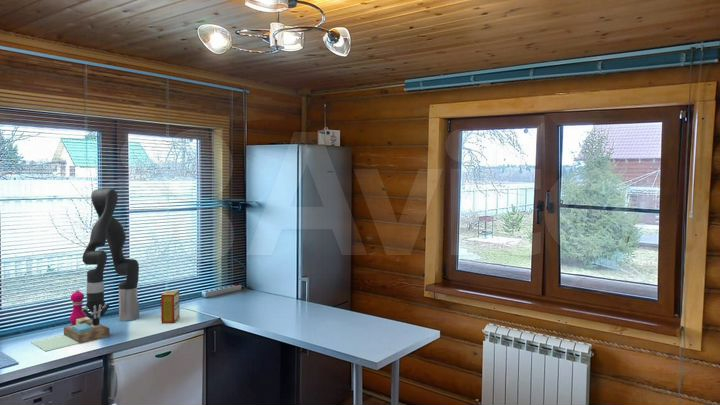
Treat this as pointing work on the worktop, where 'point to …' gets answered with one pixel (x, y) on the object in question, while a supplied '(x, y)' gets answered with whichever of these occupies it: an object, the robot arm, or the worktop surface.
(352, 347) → the worktop surface
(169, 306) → the baking soda box
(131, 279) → the robot arm
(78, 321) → the block
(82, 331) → the teal sponge
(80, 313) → the pepper mill
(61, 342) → the mat
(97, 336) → the brown shallow rectangular piece
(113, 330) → the worktop surface
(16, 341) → the worktop surface
